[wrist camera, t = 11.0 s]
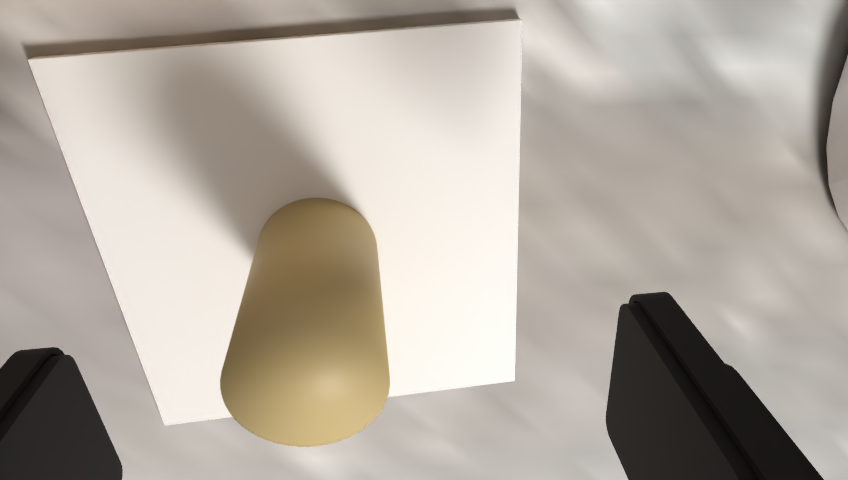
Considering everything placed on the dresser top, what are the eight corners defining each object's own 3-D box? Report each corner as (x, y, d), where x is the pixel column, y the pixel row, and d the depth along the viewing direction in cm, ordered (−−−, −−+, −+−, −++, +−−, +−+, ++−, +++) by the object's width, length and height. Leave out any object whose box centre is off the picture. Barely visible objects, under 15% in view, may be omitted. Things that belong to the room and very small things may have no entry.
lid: (513, 15, 13) (614, 69, 8) (508, 363, 18) (569, 529, 13) (45, 52, 13) (-155, 136, 8) (172, 405, 18) (101, 598, 13)
